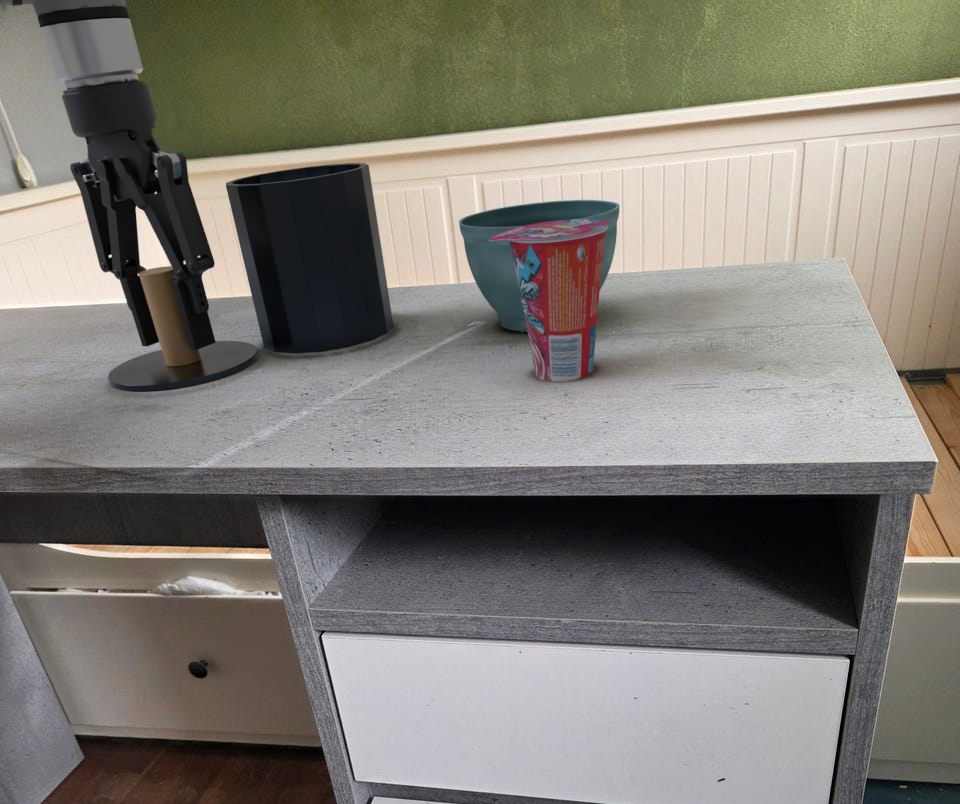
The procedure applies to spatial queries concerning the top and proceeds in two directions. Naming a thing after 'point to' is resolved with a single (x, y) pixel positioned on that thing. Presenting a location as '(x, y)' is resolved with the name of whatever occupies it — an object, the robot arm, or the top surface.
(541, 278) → the cup
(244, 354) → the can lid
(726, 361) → the top surface
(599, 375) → the top surface
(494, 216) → the flower pot
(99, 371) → the top surface
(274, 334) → the trash can
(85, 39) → the robot arm
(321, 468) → the top surface
